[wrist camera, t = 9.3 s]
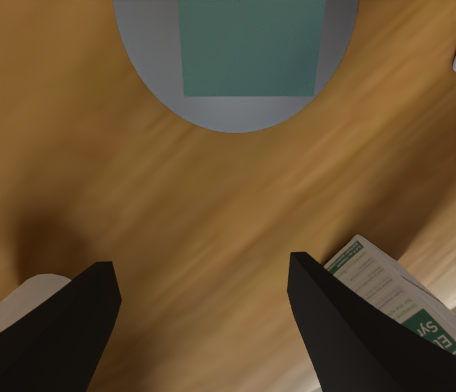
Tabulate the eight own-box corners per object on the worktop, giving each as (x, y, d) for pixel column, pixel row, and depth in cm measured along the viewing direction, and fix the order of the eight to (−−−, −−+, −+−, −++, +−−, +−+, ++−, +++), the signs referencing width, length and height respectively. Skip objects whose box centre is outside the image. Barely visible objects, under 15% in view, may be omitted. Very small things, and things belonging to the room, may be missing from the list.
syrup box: (356, 230, 21) (605, 477, 8) (400, 262, 23) (669, 511, 9) (310, 275, 23) (448, 542, 9) (354, 302, 24) (525, 562, 11)
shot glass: (93, 271, 21) (40, 350, 15) (97, 328, 24) (54, 416, 17) (6, 263, 20) (-90, 343, 14) (20, 323, 23) (-55, 414, 17)
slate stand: (367, -141, 12) (387, -170, 11) (327, 128, 17) (337, 131, 16) (99, -152, 12) (84, -184, 10) (139, 130, 17) (133, 134, 15)
